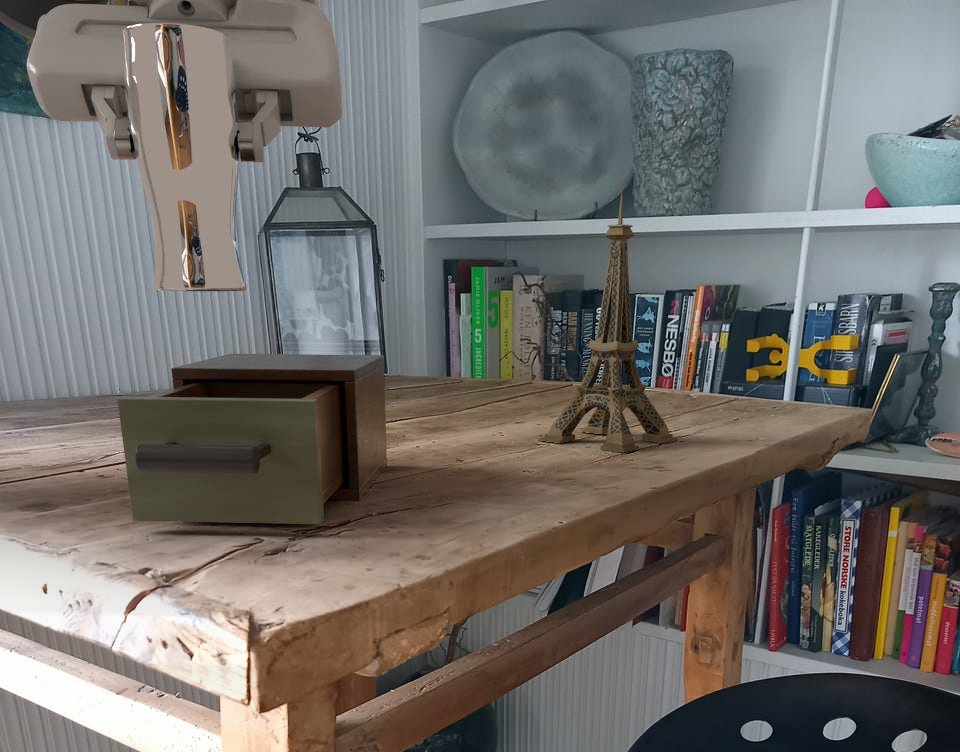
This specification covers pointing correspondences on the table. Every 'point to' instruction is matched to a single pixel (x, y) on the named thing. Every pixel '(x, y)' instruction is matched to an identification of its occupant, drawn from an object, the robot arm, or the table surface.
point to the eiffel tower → (612, 366)
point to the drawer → (235, 451)
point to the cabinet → (353, 370)
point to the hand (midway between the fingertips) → (186, 152)
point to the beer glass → (186, 150)
